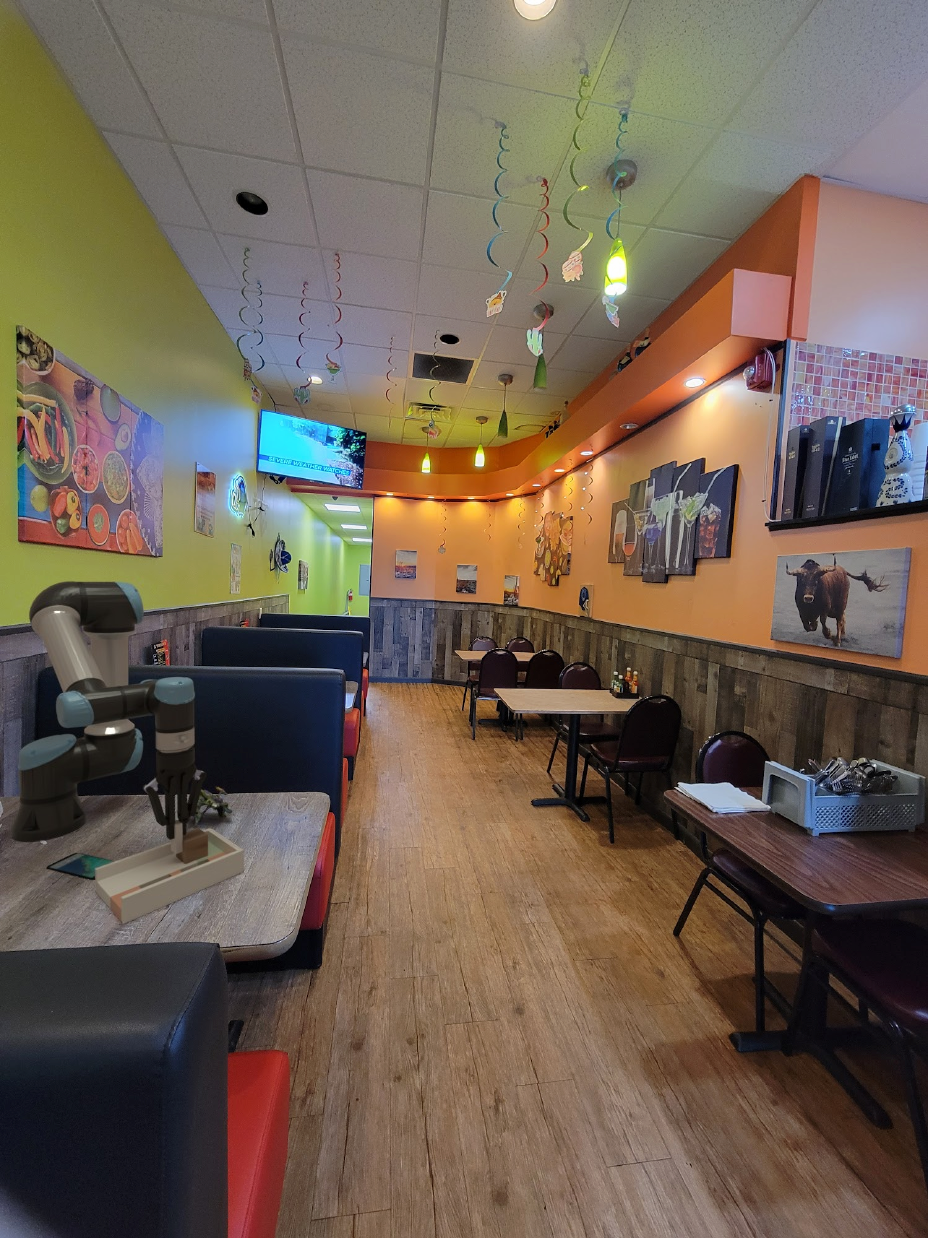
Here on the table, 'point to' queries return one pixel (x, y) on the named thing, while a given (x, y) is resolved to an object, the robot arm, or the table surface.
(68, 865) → the smartphone
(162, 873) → the tray
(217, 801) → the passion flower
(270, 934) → the table surface
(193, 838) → the walnut block
